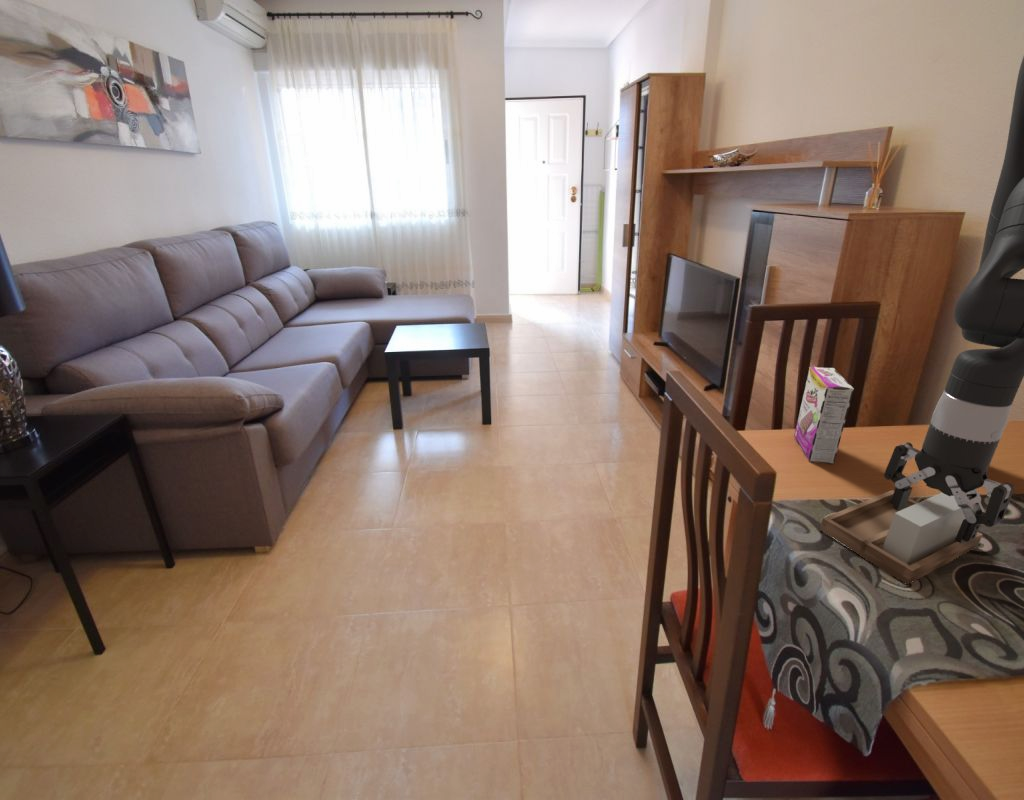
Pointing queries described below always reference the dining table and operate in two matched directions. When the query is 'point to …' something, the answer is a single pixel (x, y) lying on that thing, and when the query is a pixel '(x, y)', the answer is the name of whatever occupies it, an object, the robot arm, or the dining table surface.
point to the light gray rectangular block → (924, 528)
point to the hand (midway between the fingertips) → (928, 523)
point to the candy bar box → (823, 414)
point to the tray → (868, 533)
